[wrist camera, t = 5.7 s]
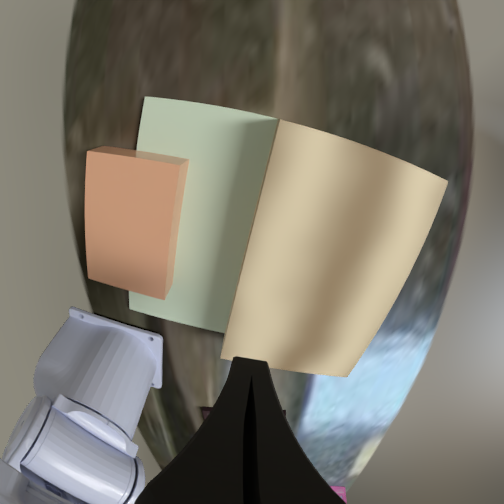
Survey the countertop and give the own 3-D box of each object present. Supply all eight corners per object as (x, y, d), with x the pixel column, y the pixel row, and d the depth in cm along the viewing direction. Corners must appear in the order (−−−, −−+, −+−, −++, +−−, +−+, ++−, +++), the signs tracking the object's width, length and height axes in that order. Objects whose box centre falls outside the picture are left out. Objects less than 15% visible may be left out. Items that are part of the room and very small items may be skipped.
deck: (225, 330, 22) (220, 358, 20) (277, 118, 15) (280, 119, 13) (340, 350, 23) (347, 377, 20) (424, 169, 16) (448, 181, 13)
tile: (164, 300, 19) (172, 284, 20) (180, 165, 14) (189, 159, 16) (88, 278, 18) (100, 264, 20) (87, 150, 14) (103, 145, 16)
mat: (130, 306, 22) (129, 308, 22) (146, 96, 15) (145, 96, 14) (225, 330, 22) (224, 333, 22) (277, 118, 15) (278, 118, 15)
